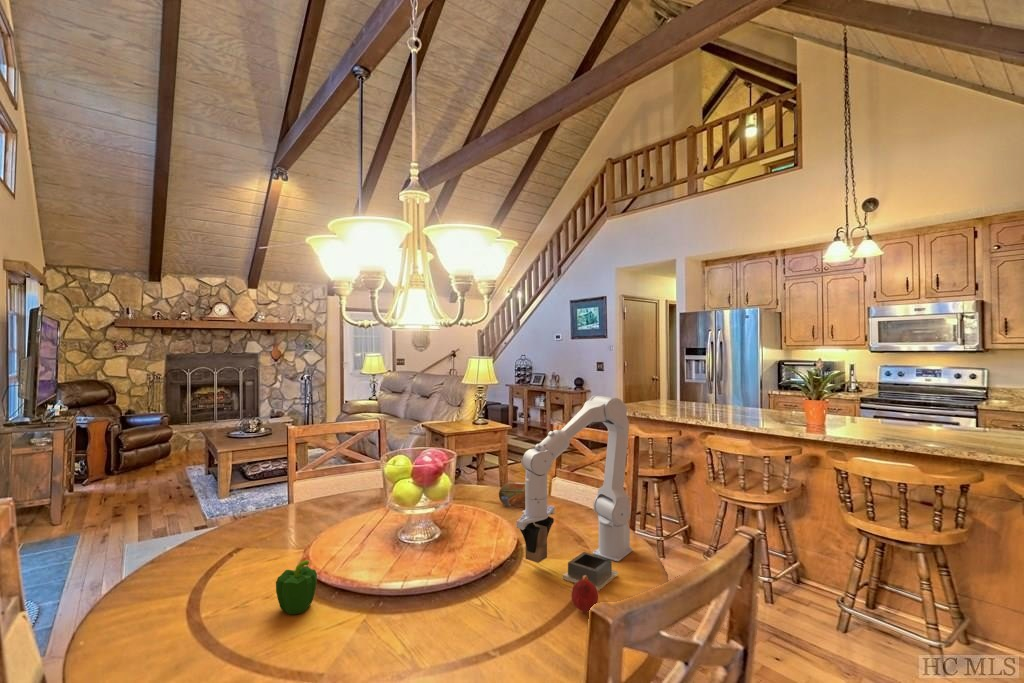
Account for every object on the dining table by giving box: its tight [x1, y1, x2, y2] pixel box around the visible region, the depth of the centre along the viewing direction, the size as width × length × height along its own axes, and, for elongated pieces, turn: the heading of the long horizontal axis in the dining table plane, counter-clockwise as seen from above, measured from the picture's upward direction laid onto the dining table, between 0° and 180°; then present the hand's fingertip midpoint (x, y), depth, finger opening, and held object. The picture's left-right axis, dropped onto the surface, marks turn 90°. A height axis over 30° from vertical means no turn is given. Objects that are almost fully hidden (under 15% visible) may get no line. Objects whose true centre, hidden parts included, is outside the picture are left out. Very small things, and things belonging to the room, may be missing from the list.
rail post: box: [525, 523, 548, 564], centre depth 129 cm, size 4×4×8 cm
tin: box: [498, 481, 525, 509], centre depth 178 cm, size 15×3×8 cm, turn 80°
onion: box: [571, 575, 599, 614], centre depth 108 cm, size 6×6×8 cm
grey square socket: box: [561, 551, 618, 592], centre depth 125 cm, size 10×10×4 cm
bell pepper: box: [275, 559, 318, 616], centre depth 110 cm, size 8×8×10 cm
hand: (536, 548), depth 129 cm, fingers closed on rail post, 4 cm apart
